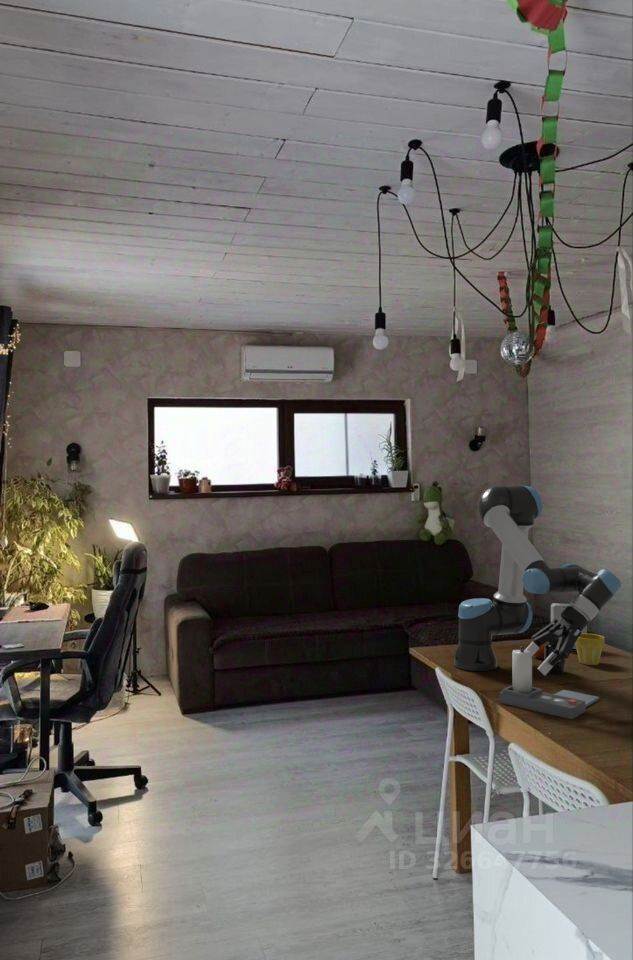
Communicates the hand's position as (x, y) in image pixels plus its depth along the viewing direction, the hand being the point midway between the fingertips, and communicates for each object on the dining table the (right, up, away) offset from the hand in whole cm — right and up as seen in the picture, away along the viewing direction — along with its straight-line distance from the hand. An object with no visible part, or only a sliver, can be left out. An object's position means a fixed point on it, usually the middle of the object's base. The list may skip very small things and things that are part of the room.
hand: (531, 666), depth 207 cm
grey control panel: (+2, -11, -3) cm, 12 cm away
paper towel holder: (-2, -8, +1) cm, 8 cm away
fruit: (+21, -12, +55) cm, 61 cm away
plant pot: (+36, -12, +47) cm, 60 cm away
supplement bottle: (+19, -12, +35) cm, 42 cm away
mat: (+14, -11, +3) cm, 18 cm away
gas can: (+38, -12, +70) cm, 80 cm away
